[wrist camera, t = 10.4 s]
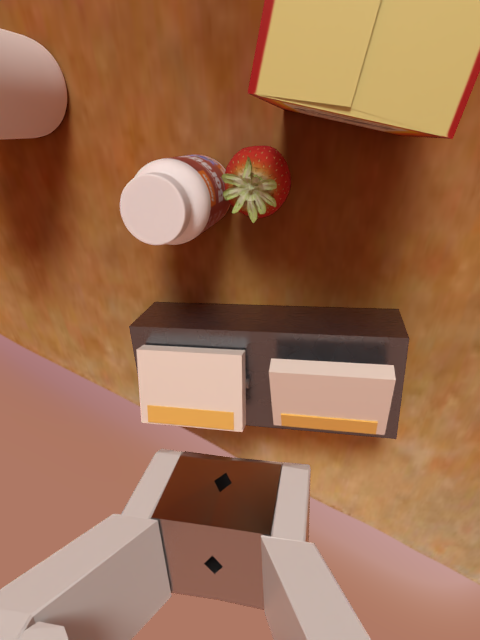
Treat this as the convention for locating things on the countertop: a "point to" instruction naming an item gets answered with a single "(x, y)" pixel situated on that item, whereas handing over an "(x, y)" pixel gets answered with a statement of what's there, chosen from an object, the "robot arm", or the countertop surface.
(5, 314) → the countertop surface
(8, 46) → the pill bottle
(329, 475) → the countertop surface
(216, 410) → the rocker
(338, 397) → the rocker
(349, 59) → the baking soda box
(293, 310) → the panel
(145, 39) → the countertop surface
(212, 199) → the pill bottle
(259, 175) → the fruit
